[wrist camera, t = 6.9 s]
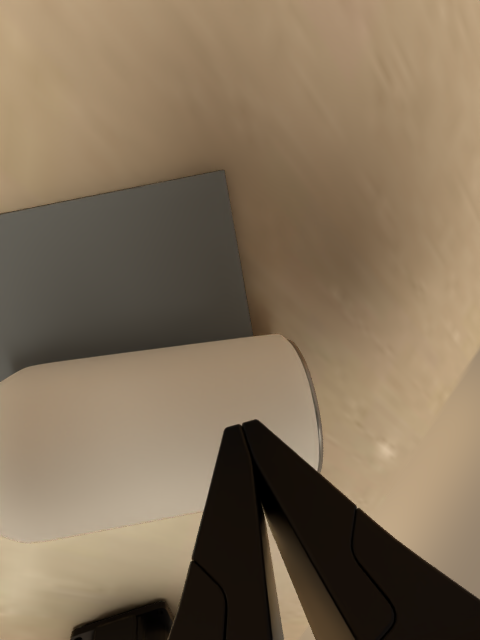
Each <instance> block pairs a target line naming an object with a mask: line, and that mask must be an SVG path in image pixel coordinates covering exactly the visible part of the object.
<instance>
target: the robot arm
mask: <svg viewBox="0 0 480 640" xmlns="http://www.w3.org/2000/svg"><path fill="white" fill-rule="evenodd" d="M263 510H264V512H263ZM264 513H265V516H266V519H267V521H268V524H269V527H270V529H271V532H272V534H273V536H274V539H275V541H276V544H277V546H278V549H279V551H280V554H281V556H282V558H283V561H284V563H285V566H286V568H287V571H288V573H289V576H290V578H291V580H292V583H293V585H294V588H295V590H296V593H297V595H298V598H299V600H300V602H301V605H302V607H303V610H304V612H305V615H306V617H307V620H308V622H309V624H310V627H311V629H312V632H313V634H314V637H315V639H316V640H480V599H478V598H477V597H476V596H474V595H473V594H471V593H470V592H469V591H467V590H466V589H464V588H463V587H462V586H460V585H459V584H457V583H456V582H454V581H453V580H451V579H450V578H449V577H447V576H446V575H445V574H443V573H442V572H440V571H439V570H438V569H436V568H435V567H433V566H432V565H431V564H429V563H428V562H426V561H425V560H423V559H422V558H421V557H419V556H418V555H417V554H415V553H414V552H413V551H411V550H410V549H409V548H407V547H406V546H405V545H403V544H402V543H401V542H399V541H398V540H397V539H395V538H394V537H393V536H392V535H390V534H389V533H388V532H387V531H386V530H384V529H383V528H382V527H381V526H380V525H378V524H377V523H376V522H375V521H374V520H372V519H371V518H370V517H369V516H368V515H367V514H366V513H364V512H363V511H362V510H361V509H360V508H357V506H356V505H355V504H354V503H353V502H352V501H351V500H349V499H348V498H347V497H346V496H345V495H344V494H343V493H341V492H340V491H339V490H338V489H337V488H336V487H335V486H333V485H332V484H331V483H330V482H329V481H328V480H327V479H325V478H324V477H323V476H322V475H321V474H320V473H319V472H317V471H316V470H315V469H314V468H313V467H312V466H311V465H309V464H308V463H307V462H306V461H305V460H304V459H303V458H301V457H300V456H299V455H298V454H297V453H296V452H295V451H293V450H292V449H291V448H290V447H289V446H288V445H287V444H285V443H284V442H283V441H282V440H281V439H280V438H279V437H277V436H276V435H275V434H274V433H273V432H272V431H271V430H269V429H268V428H267V427H266V426H265V425H264V424H263V423H261V422H260V421H259V420H257V419H254V420H250V421H247V422H243V423H242V426H241V425H240V424H236V425H232V426H229V427H226V428H225V429H224V431H223V435H222V439H221V443H220V447H219V451H218V455H217V459H216V463H215V467H214V471H213V475H212V479H211V483H210V487H209V491H208V495H207V499H206V503H205V507H204V511H203V515H202V519H201V523H200V527H199V531H198V535H197V538H196V542H195V546H194V550H193V554H192V561H191V562H190V565H189V569H188V573H187V577H186V581H185V585H184V588H183V592H182V595H181V599H180V602H179V606H178V610H177V613H176V616H175V619H174V618H173V616H172V614H171V612H170V610H169V607H168V605H167V604H166V602H156V603H153V604H150V605H147V606H144V607H141V608H138V609H135V610H132V611H129V612H126V613H123V614H120V615H117V616H114V617H111V618H108V619H105V620H102V621H99V622H96V623H92V624H89V625H86V626H83V627H80V628H77V629H75V630H73V631H72V633H71V639H70V640H284V637H283V630H282V624H281V617H280V611H279V604H278V598H277V592H276V585H275V579H274V572H273V566H272V559H271V553H270V547H269V540H268V534H267V527H266V522H265V516H264Z"/></svg>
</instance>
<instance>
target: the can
mask: <svg viewBox="0 0 480 640" xmlns="http://www.w3.org/2000/svg"><path fill="white" fill-rule="evenodd" d="M254 419H257V420H259V421H260V422H261V423H263V424H264V425H265V426H266V427H267V428H268V429H269V430H271V431H272V432H273V433H274V434H275V435H276V436H277V437H279V438H280V439H281V440H282V441H283V442H284V443H285V444H287V445H288V446H289V447H290V448H291V449H292V450H293V451H295V452H296V453H297V454H298V455H299V456H300V457H301V458H303V459H304V460H305V461H306V462H307V463H308V464H309V465H311V466H312V467H313V468H314V469H315V470H316V471H317V472H319V473H320V472H321V468H322V462H323V435H322V425H321V418H320V412H319V406H318V402H317V397H316V393H315V389H314V385H313V382H312V378H311V375H310V372H309V369H308V366H307V364H306V362H305V359H304V357H303V355H302V354H301V352H300V350H299V349H298V347H297V346H296V345H295V344H294V342H293V341H291V340H289V339H286V338H285V337H284V336H282V335H281V334H270V335H261V336H253V337H244V338H236V339H228V340H220V341H212V342H204V343H197V344H189V345H181V346H173V347H165V348H158V349H150V350H142V351H135V352H127V353H119V354H112V355H104V356H96V357H89V358H81V359H74V360H67V361H59V362H52V363H46V364H39V365H34V366H30V367H26V368H24V369H22V370H20V371H18V372H16V373H14V374H12V375H11V376H9V377H8V378H6V379H4V380H3V381H1V382H0V536H2V537H5V538H8V539H11V540H14V541H17V542H22V543H37V542H44V541H50V540H56V539H61V538H67V537H72V536H78V535H83V534H88V533H94V532H99V531H104V530H109V529H115V528H120V527H125V526H130V525H136V524H141V523H146V522H151V521H156V520H162V519H167V518H172V517H177V516H182V515H187V514H192V513H198V512H203V511H204V507H205V503H206V499H207V495H208V491H209V487H210V483H211V479H212V475H213V471H214V467H215V463H216V459H217V455H218V451H219V447H220V443H221V439H222V435H223V431H224V429H225V428H226V427H229V426H232V425H236V424H240V425H241V426H242V423H243V422H247V421H250V420H254Z"/></svg>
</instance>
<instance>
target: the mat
mask: <svg viewBox="0 0 480 640" xmlns="http://www.w3.org/2000/svg"><path fill="white" fill-rule="evenodd" d="M244 337H253V332H252V326H251V320H250V315H249V309H248V303H247V298H246V292H245V286H244V280H243V275H242V269H241V263H240V257H239V252H238V246H237V240H236V235H235V229H234V223H233V217H232V212H231V206H230V200H229V194H228V189H227V183H226V177H225V171H224V170H219V171H214V172H209V173H204V174H199V175H194V176H189V177H184V178H179V179H174V180H169V181H164V182H159V183H154V184H149V185H144V186H139V187H134V188H129V189H124V190H119V191H114V192H109V193H104V194H99V195H94V196H89V197H84V198H79V199H74V200H69V201H64V202H58V203H53V204H48V205H43V206H38V207H33V208H28V209H23V210H18V211H13V212H8V213H3V214H0V382H1V381H3V380H4V379H6V378H8V377H9V376H11V375H12V374H14V373H16V372H18V371H20V370H22V369H24V368H26V367H30V366H34V365H39V364H46V363H52V362H59V361H67V360H74V359H81V358H89V357H96V356H104V355H112V354H119V353H127V352H135V351H142V350H150V349H158V348H165V347H173V346H181V345H189V344H197V343H204V342H212V341H220V340H228V339H236V338H244Z"/></svg>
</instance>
